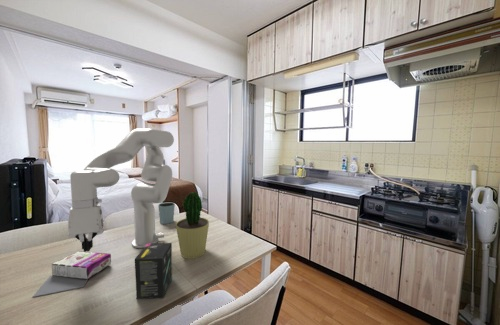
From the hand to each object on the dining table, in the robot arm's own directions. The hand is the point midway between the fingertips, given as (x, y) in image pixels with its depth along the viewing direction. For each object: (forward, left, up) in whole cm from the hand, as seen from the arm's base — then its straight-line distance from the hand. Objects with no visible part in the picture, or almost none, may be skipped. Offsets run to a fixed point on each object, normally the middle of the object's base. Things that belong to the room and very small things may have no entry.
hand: (87, 249), depth 80 cm
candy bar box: (-3, -2, -8) cm, 9 cm away
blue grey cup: (-29, -52, -11) cm, 61 cm away
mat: (+7, 0, -11) cm, 13 cm away
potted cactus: (-40, -5, -11) cm, 42 cm away
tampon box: (-24, +16, -11) cm, 31 cm away
